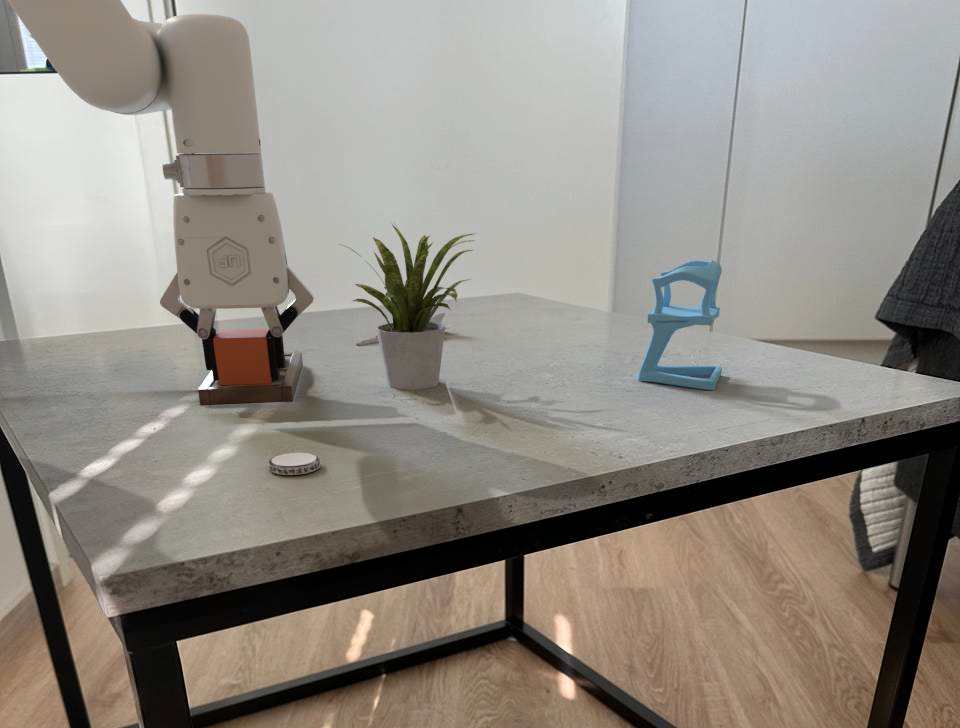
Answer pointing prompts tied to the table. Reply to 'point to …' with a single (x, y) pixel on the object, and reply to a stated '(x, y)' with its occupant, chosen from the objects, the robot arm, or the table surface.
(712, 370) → the chair
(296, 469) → the white round disc
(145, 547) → the table surface
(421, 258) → the house plant
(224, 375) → the terracotta cube
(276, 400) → the frame
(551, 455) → the table surface
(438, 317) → the toy airplane
